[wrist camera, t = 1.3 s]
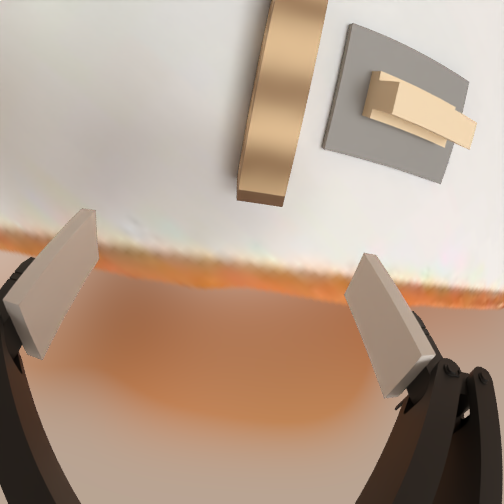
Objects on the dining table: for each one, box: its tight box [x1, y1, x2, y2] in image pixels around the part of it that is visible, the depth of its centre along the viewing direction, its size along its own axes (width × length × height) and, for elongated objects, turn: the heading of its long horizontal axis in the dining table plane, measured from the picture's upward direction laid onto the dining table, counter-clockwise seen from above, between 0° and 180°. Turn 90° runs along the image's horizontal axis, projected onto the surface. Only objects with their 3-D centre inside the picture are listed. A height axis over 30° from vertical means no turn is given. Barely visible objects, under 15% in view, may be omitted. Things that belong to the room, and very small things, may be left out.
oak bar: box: [237, 0, 328, 207], centre depth 22 cm, size 20×4×6 cm, turn 170°
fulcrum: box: [322, 23, 477, 184], centre depth 23 cm, size 14×16×7 cm
